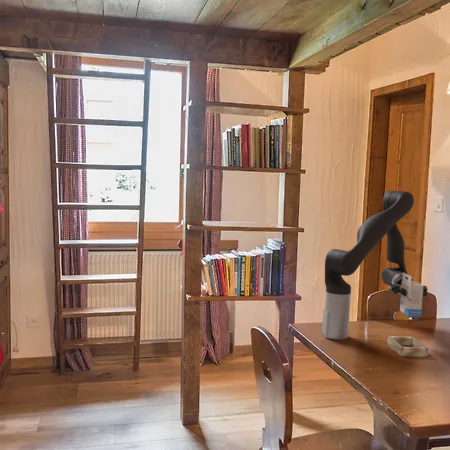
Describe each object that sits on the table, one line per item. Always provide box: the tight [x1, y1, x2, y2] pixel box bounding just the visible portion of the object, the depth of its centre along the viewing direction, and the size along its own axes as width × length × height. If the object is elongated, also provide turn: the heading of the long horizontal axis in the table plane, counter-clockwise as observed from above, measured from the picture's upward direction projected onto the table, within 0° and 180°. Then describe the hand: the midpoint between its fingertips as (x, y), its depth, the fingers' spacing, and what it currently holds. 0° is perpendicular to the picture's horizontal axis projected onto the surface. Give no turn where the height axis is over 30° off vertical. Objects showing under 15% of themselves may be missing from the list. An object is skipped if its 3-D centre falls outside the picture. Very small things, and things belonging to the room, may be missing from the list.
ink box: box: [399, 272, 424, 318], centre depth 184 cm, size 8×5×15 cm, turn 2°
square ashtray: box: [386, 335, 429, 358], centre depth 180 cm, size 10×12×3 cm
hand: (413, 294), depth 181 cm, fingers closed on ink box, 5 cm apart
